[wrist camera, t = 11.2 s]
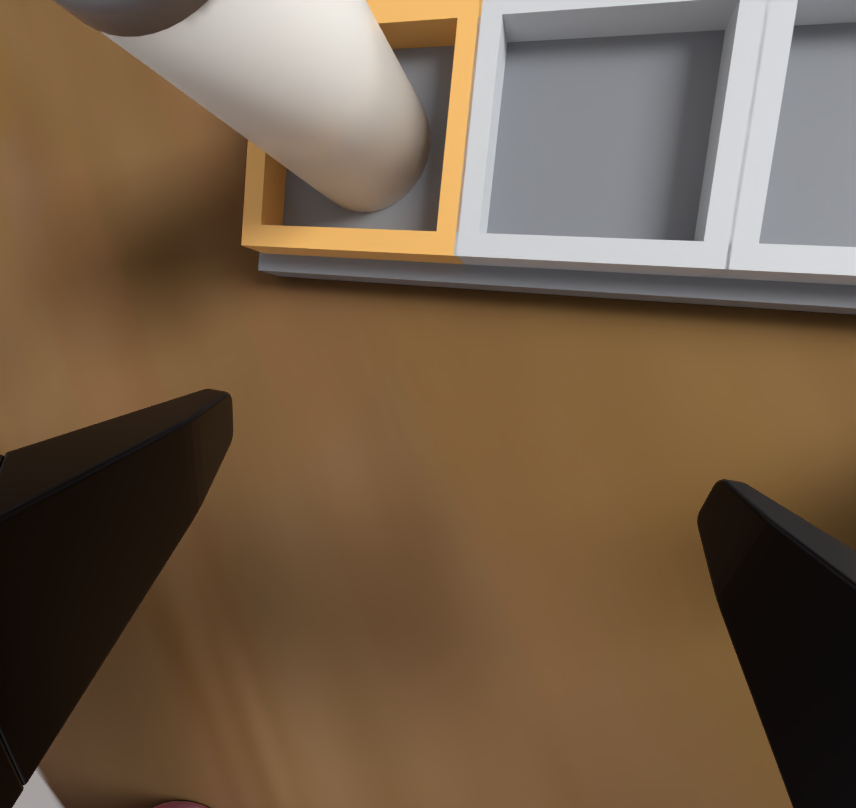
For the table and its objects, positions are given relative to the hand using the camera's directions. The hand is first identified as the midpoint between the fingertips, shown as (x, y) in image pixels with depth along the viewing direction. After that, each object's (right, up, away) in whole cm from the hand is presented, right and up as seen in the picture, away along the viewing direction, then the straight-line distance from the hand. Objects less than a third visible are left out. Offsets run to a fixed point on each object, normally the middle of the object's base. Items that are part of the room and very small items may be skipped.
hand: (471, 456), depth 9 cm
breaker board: (+6, +12, +10) cm, 16 cm away
